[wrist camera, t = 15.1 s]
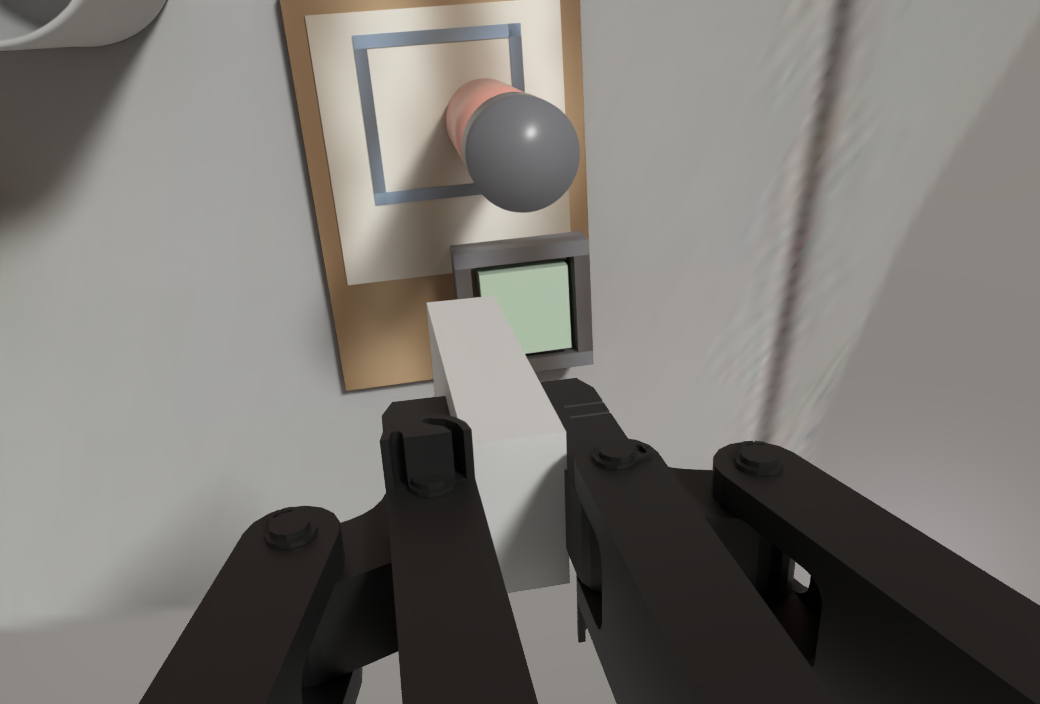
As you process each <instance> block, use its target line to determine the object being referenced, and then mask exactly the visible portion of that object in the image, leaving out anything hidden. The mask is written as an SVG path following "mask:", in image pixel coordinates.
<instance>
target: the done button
mask: <svg viewBox="0 0 1040 704" xmlns="http://www.w3.org/2000/svg"><path fill="white" fill-rule="evenodd" d="M475 271H476V282H477V292H478V297H486V296H494V297H495V298H496V300H497V302H498V304H499V306H500V308H501V310H502V312H503V314H504V315H505V317H506V319H507V321H508V323H509V325H510V327H511V329H512V331H513V332H514V334H515V336H516V338H517V340H518V342H519V344H520V346H521V348H522V349H523V351H524V353H525V354H527V353H534V352H542V351H549V350H557V349H564V348H572V347H571V327H570V306H569V285H568V265H567V264H566V263H565V262H564V261H563V259H562V258H556V259H547V260H539V261H530V262H522V263H513V264H504V265H496V266H487V267H479V268H475Z"/></svg>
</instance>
